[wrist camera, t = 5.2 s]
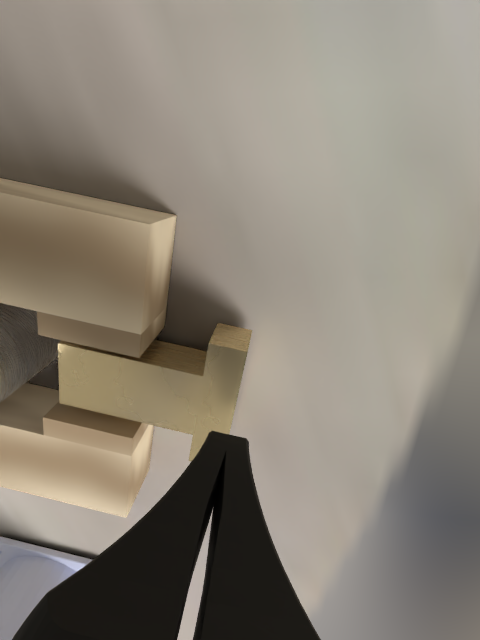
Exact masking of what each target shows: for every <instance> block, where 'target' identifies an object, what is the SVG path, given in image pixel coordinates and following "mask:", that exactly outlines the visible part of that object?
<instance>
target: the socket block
mask: <svg viewBox="0 0 480 640" xmlns="http://www.w3.org/2000/svg"><path fill="white" fill-rule="evenodd" d="M176 217H177V215H173V214H168V213H164V212H159V211H154V210H150V209H145V208H140V207H135V206H131V205H126V204H121V203H117V202H112V201H107V200H102V199H98V198H93V197H88V196H83V195H79V194H74V193H69V192H65V191H60V190H55V189H50V188H46V187H41V186H36V185H31V184H27V183H22V182H17V181H13V180H8V179H3V178H0V303H3V304H7V305H12V306H16V307H21V308H25V309H29V310H34V311H37V323H38V335H41V336H45V337H49V338H54V339H58V340H62V341H67V342H71V343H76V344H80V345H84V346H89V347H93V348H97V349H102V350H106V351H110V352H115V353H119V354H124V355H128V356H132V357H137V358H139V357H140V356H141V355H142V354H143V353H144V351H145V350H146V349H147V348H148V346H149V345H150V344H151V343H152V341H153V340H154V339H155V338H156V337H157V335H158V334H159V333H160V332H161V330H162V329H163V328H164V327H165V318H166V309H167V300H168V291H169V282H170V272H171V263H172V254H173V245H174V236H175V227H176ZM153 428H154V425H150V424H145V423H141V422H137V421H133V420H128V419H124V418H120V417H116V416H111V415H107V414H103V413H99V412H94V411H90V410H86V409H82V408H78V407H73V406H69V405H65V404H61V403H60V402H59V390H55V389H51V388H47V387H43V386H38V385H34V384H30V383H25V384H23V385H22V386H21V387H20V388H18V389H17V390H16V391H14V392H13V393H12V394H11V395H9V396H8V397H7V398H6V399H4V400H3V401H2V402H0V487H4V488H8V489H12V490H16V491H20V492H24V493H28V494H32V495H37V496H41V497H45V498H49V499H53V500H57V501H61V502H65V503H69V504H73V505H77V506H81V507H85V508H89V509H93V510H97V511H101V512H105V513H109V514H113V515H117V516H121V517H125V518H127V515H128V513H129V511H130V509H131V507H132V505H133V503H134V500H135V498H136V496H137V494H138V492H139V490H140V488H141V485H142V483H143V481H144V479H145V477H146V475H147V473H148V470H149V465H150V456H151V447H152V438H153Z"/></svg>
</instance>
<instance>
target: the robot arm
mask: <svg viewBox="0 0 480 640" xmlns="http://www.w3.org/2000/svg"><path fill="white" fill-rule="evenodd" d="M213 506H214V507H213ZM212 510H213V515H212V523H211V531H210V539H209V547H208V556H207V564H206V572H205V579H204V586H203V592H202V597H201V602H200V607H199V612H198V617H197V622H196V627H195V632H194V637H193V640H321V639H320V638H319V636H318V634H317V632H316V631H315V629H314V627H313V625H312V624H311V622H310V620H309V618H308V616H307V614H306V612H305V611H304V609H303V607H302V605H301V603H300V601H299V599H298V597H297V595H296V593H295V591H294V589H293V587H292V585H291V583H290V580H289V578H288V576H287V574H286V572H285V570H284V568H283V566H282V563H281V561H280V559H279V556H278V554H277V551H276V549H275V546H274V544H273V541H272V539H271V536H270V533H269V531H268V528H267V525H266V522H265V519H264V516H263V512H262V509H261V506H260V502H259V499H258V495H257V491H256V487H255V483H254V479H253V474H252V469H251V463H250V456H249V442H248V440H247V439H246V438H242V437H237V436H233V435H229V434H224V433H220V432H216V431H211V432H209V433H208V436H207V438H206V440H205V442H204V444H203V445H202V447H201V449H200V450H199V452H198V453H197V455H196V456H195V458H194V459H193V460H192V462H191V463H190V464H189V466H188V467H187V469H186V470H185V471H184V473H183V474H182V475H181V476H180V478H179V479H178V480H177V481H176V482H175V483H174V485H173V486H172V487H171V488H170V489H169V491H168V492H167V493H166V494H165V495H164V496H163V497H162V498H161V499H160V501H159V502H158V503H157V504H156V505H155V506H154V507H153V508H152V509H151V510H150V511H149V512H148V513H147V514H146V515H145V516H144V517H143V518H142V519H141V520H139V521H138V522H137V523H136V524H135V525H134V526H133V527H132V528H131V529H130V530H129V531H128V532H126V533H125V534H124V535H123V536H122V537H121V538H119V539H118V540H117V541H116V542H115V543H113V544H112V545H111V546H110V547H108V548H107V549H106V550H105V551H103V552H102V553H101V554H100V555H98V556H97V557H96V558H95V559H93V560H92V559H88V558H84V557H80V556H76V555H72V554H68V553H64V552H60V551H57V550H53V549H49V548H45V547H41V546H37V545H33V544H29V543H25V542H21V541H17V540H13V539H9V538H5V537H1V536H0V640H177V637H178V633H179V629H180V624H181V620H182V616H183V611H184V607H185V602H186V598H187V594H188V589H189V586H190V582H191V578H192V575H193V571H194V568H195V565H196V562H197V558H198V555H199V552H200V549H201V545H202V542H203V539H204V536H205V532H206V529H207V526H208V523H209V519H210V516H211V513H212Z"/></svg>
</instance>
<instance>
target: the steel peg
mask: <svg viewBox="0 0 480 640" xmlns="http://www.w3.org/2000/svg"><path fill="white" fill-rule="evenodd" d="M60 341H61V340H58V339H54V338H49V337H45V336H41V335H38V323H37V311H34V310H29V309H25V308H21V307H16V306H12V305H7V304H3V303H0V402H2V401H3V400H4V399H6V398H7V397H8V396H9V395H11V394H12V393H13V392H14V391H16V390H17V389H18V388H20V387H21V386H22V385H23V384H25V383H26V382H27V381H28V380H30V379H31V378H32V377H34V376H35V375H36V374H37V373H39V372H40V371H41V370H42V369H44V368H45V367H46V366H48V365H49V364H50V363H51V362H53V361H54V360H55V359H56V358H57V356H58V343H59V342H60Z"/></svg>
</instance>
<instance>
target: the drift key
mask: <svg viewBox="0 0 480 640" xmlns="http://www.w3.org/2000/svg"><path fill="white" fill-rule="evenodd" d="M251 333H252V330H248V329H244V328H239V327H235V326H230V325H226V324H221V323H218V324H217V326H216V328H215V331H214V333H213V335H212V337H211V339H210V342H209V344H208V350H207V351H203V350H198V349H194V348H189V347H185V346H180V345H176V344H172V343H167V342H163V341H158V340H153V341H152V343H151V344H150V345H149V346H148V348H147V349H146V350H145V351H144V353H143V354H142V355H141V356H140V357H139V358H137V357H132V356H128V355H124V354H119V353H115V352H110V351H106V350H102V349H97V348H93V347H89V346H84V345H80V344H76V343H71V342H67V341H62V340H61V341H60V342H59V343H58V369H59V402H60V403H61V404H65V405H69V406H73V407H78V408H82V409H86V410H90V411H94V412H99V413H103V414H107V415H111V416H116V417H120V418H124V419H128V420H133V421H137V422H141V423H145V424H150V425H154V426H158V427H162V428H166V429H171V430H175V431H179V432H183V433H188V434H192V435H193V438H192V444H191V450H190V456H189V461H192V460H193V459H194V458H195V456H196V455H197V453H198V452H199V450H200V449H201V447H202V445H203V444H204V442H205V440H206V438H207V436H208V433H209V432H211V431H216V432H220V433H224V434H229V432H230V428H231V423H232V419H233V415H234V410H235V406H236V401H237V397H238V392H239V388H240V383H241V379H242V374H243V370H244V365H245V361H246V357H247V352H248V347H249V343H250V338H251Z"/></svg>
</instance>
